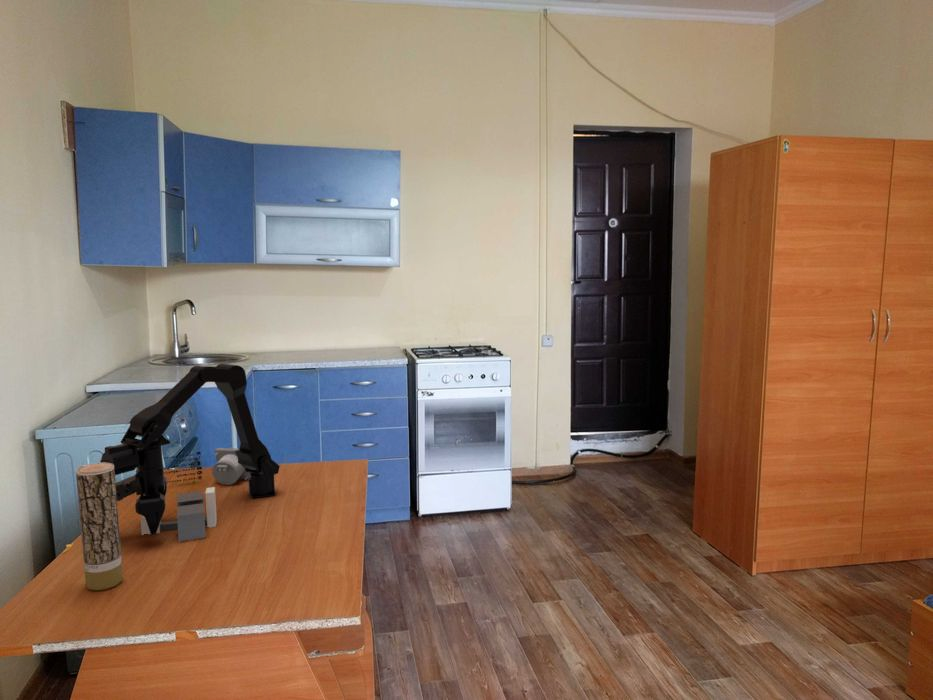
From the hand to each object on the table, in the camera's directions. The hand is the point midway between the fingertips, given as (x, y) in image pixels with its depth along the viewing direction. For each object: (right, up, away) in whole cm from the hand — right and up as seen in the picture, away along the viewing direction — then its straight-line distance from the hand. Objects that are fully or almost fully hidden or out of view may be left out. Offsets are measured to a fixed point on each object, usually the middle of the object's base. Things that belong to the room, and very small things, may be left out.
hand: (154, 526), depth 163 cm
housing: (+8, -1, +4) cm, 9 cm away
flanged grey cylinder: (-1, +3, +36) cm, 36 cm away
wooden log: (+1, -5, -25) cm, 26 cm away
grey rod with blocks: (+5, -1, +4) cm, 6 cm away
